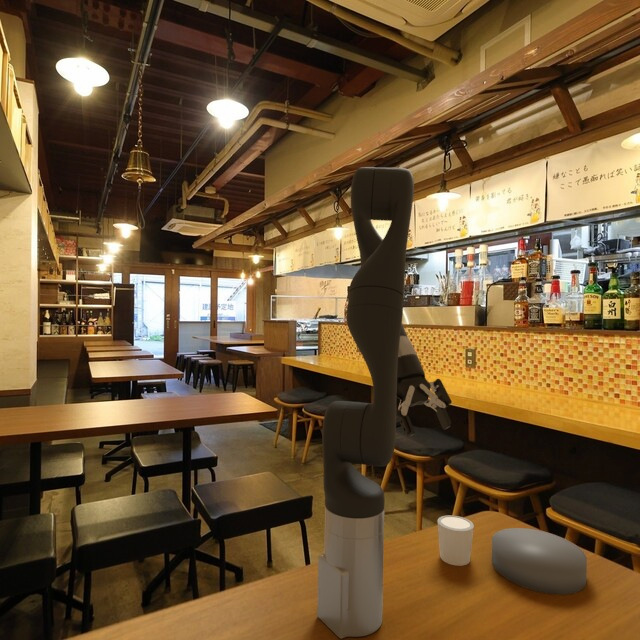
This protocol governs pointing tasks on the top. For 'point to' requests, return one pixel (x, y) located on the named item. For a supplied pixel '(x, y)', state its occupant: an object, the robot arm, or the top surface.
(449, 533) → the white cup
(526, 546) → the stand
